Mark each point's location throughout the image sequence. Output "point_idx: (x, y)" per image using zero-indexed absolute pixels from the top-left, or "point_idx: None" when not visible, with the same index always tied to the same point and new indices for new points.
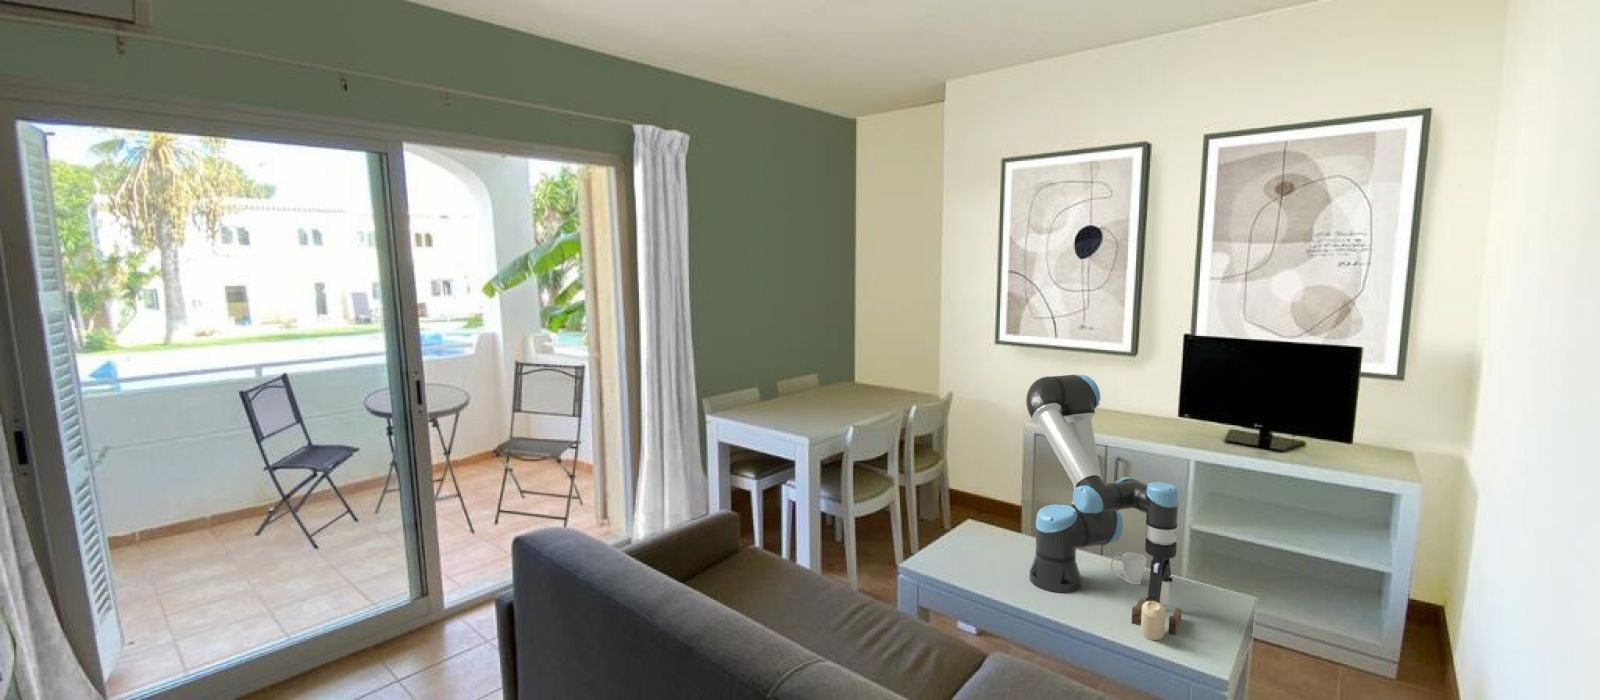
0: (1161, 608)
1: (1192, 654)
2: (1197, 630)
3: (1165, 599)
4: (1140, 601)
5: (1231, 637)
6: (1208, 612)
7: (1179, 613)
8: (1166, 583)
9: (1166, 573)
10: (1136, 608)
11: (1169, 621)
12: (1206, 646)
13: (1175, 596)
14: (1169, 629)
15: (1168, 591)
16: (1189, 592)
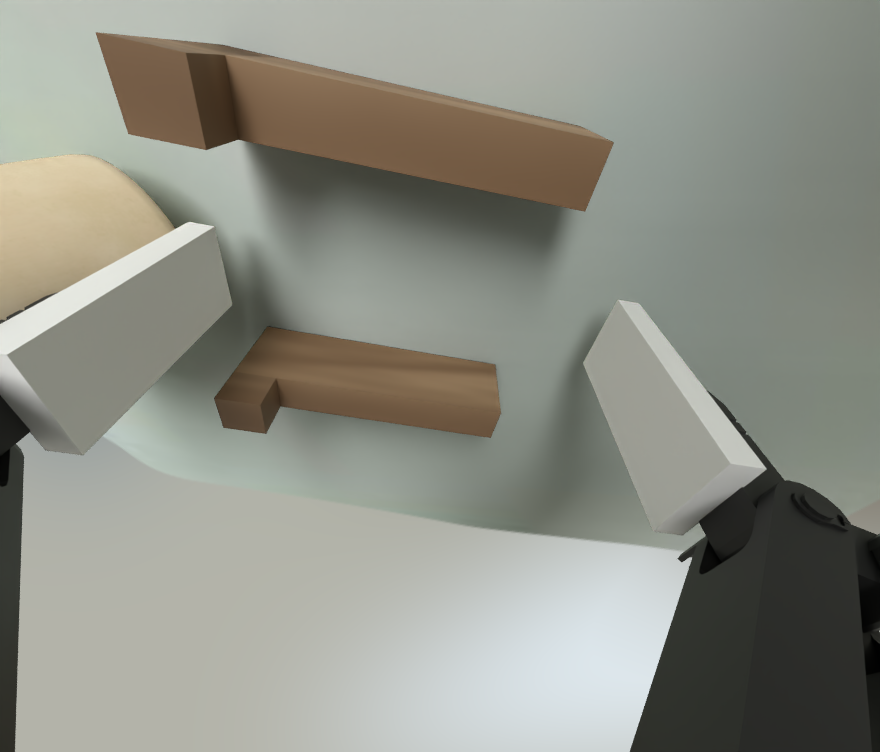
0: None
1: (144, 406)
2: (399, 435)
3: (604, 373)
4: (528, 150)
5: (405, 508)
6: (606, 477)
7: (422, 425)
8: (666, 509)
9: (645, 733)
10: (141, 107)
11: (229, 381)
12: (269, 449)
13: (808, 378)
14: (256, 347)
15: (621, 448)
16: (852, 436)
